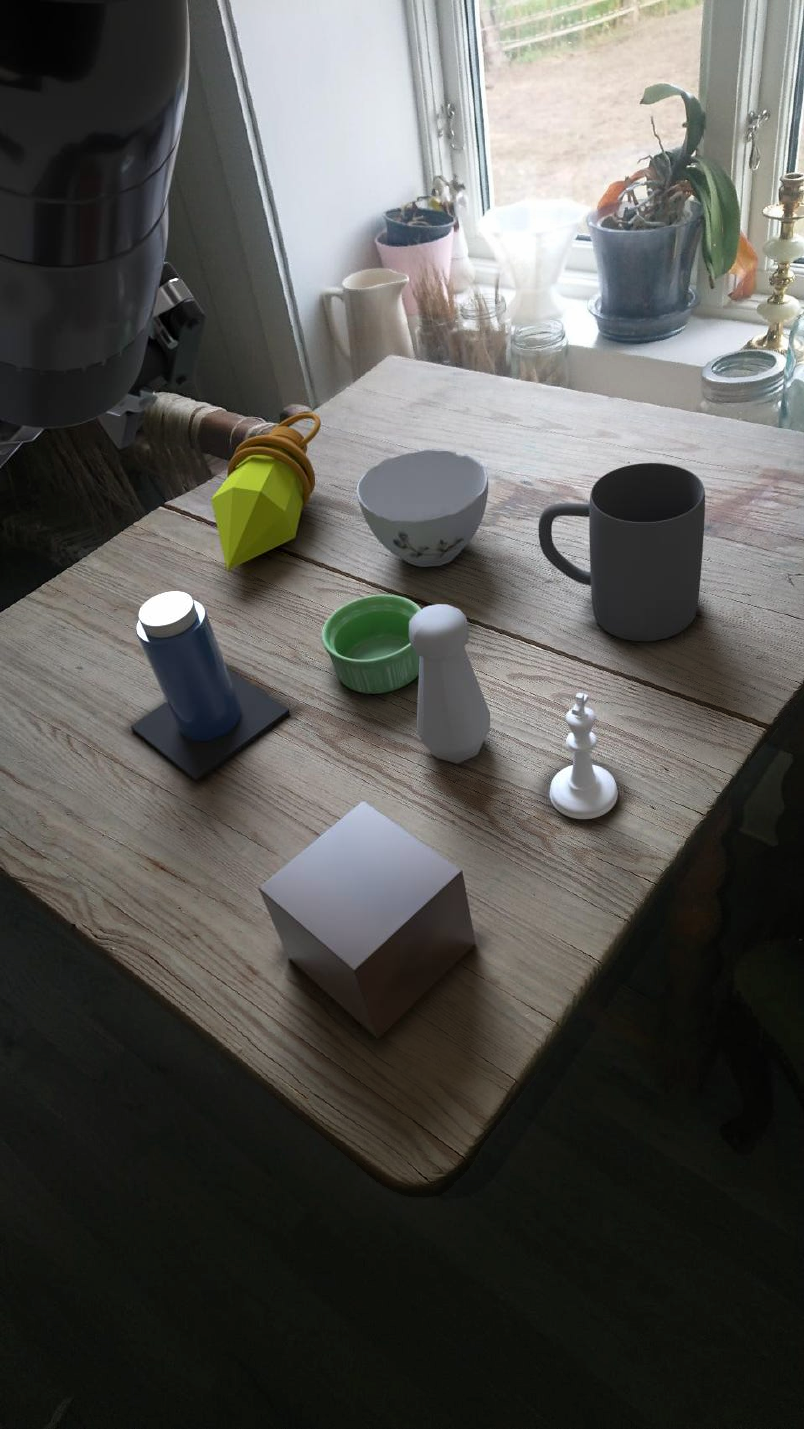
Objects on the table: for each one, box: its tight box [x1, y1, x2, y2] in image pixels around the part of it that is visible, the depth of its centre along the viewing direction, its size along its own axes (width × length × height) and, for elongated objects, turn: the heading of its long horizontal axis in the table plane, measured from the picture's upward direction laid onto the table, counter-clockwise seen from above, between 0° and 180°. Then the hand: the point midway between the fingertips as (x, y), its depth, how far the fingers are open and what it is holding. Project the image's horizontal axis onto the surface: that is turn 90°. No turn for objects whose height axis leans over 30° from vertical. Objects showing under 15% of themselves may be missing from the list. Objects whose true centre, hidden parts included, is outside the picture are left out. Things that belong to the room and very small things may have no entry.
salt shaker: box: [409, 603, 491, 764], centre depth 73 cm, size 6×6×13 cm
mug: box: [538, 462, 706, 642], centre depth 82 cm, size 14×9×12 cm
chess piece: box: [549, 692, 619, 820], centre depth 68 cm, size 5×5×10 cm
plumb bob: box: [210, 412, 322, 571], centre depth 102 cm, size 9×9×25 cm
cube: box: [257, 800, 477, 1040], centre depth 62 cm, size 9×9×8 cm
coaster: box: [130, 668, 291, 783], centre depth 84 cm, size 10×10×1 cm
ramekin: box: [321, 594, 422, 695], centre depth 84 cm, size 9×9×4 cm
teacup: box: [356, 448, 489, 568], centre depth 95 cm, size 15×12×8 cm
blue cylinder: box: [135, 590, 242, 741], centre depth 80 cm, size 6×6×12 cm
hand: (33, 468), depth 45 cm, fingers open, 8 cm apart
